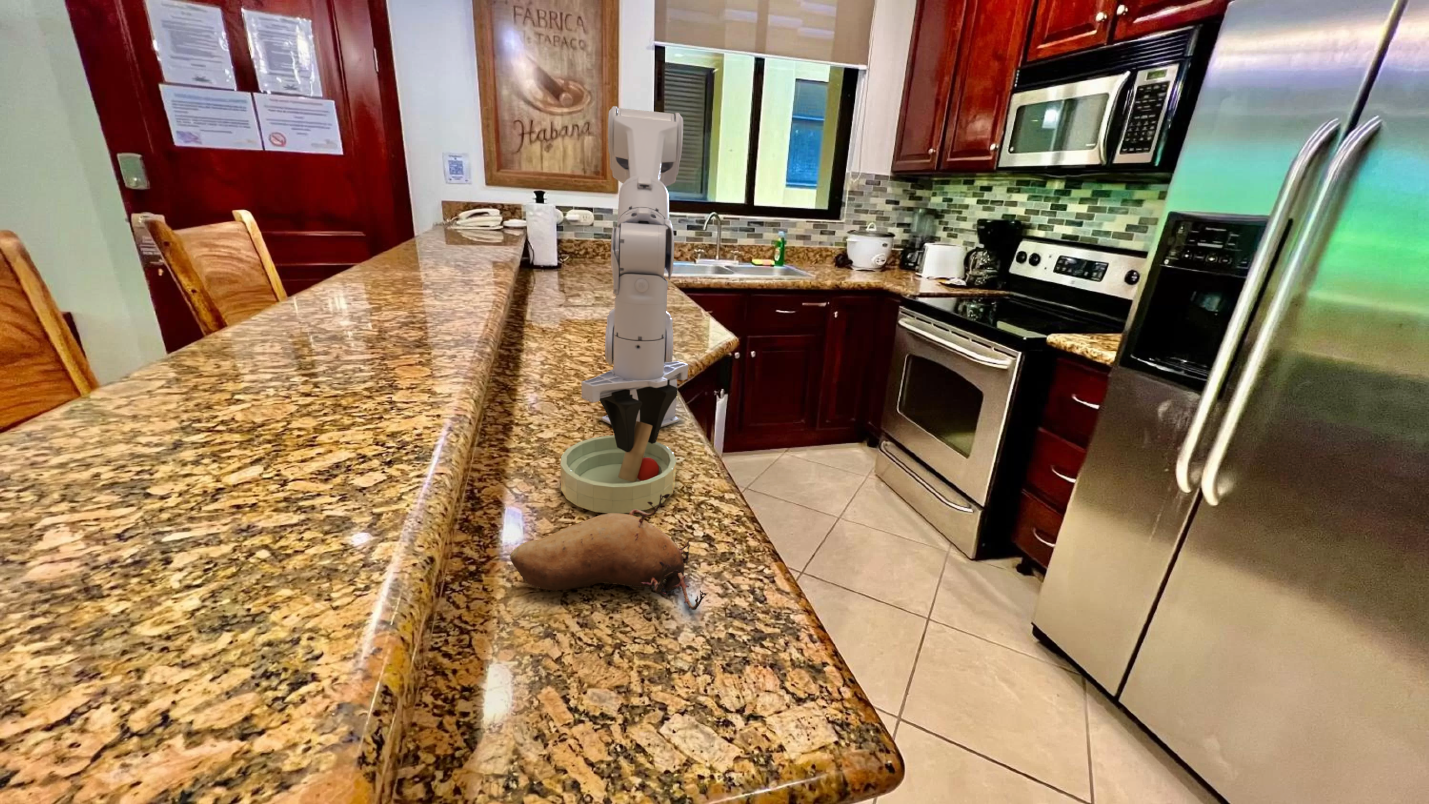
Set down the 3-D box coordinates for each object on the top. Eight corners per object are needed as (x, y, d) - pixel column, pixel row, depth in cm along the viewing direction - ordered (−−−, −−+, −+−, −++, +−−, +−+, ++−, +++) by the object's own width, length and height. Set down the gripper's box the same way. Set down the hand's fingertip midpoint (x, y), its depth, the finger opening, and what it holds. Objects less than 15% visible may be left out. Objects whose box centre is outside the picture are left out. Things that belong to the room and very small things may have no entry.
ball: (639, 481, 69) (652, 461, 69) (655, 489, 67) (667, 468, 67) (625, 471, 67) (638, 450, 67) (640, 478, 65) (653, 456, 65)
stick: (636, 481, 66) (653, 426, 67) (635, 482, 64) (652, 425, 65) (618, 476, 66) (635, 420, 67) (616, 477, 64) (634, 420, 65)
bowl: (625, 453, 75) (626, 426, 74) (696, 490, 67) (698, 461, 66) (538, 484, 66) (537, 454, 64) (609, 533, 58) (609, 499, 56)
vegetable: (496, 635, 40) (505, 494, 41) (510, 602, 50) (517, 491, 51) (709, 622, 44) (710, 495, 45) (681, 594, 54) (683, 491, 56)
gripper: (611, 351, 54) (609, 474, 59) (709, 334, 65) (701, 440, 69) (569, 337, 58) (570, 452, 63) (667, 323, 69) (662, 423, 73)
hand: (636, 444), depth 66 cm, fingers closed on stick, 3 cm apart
